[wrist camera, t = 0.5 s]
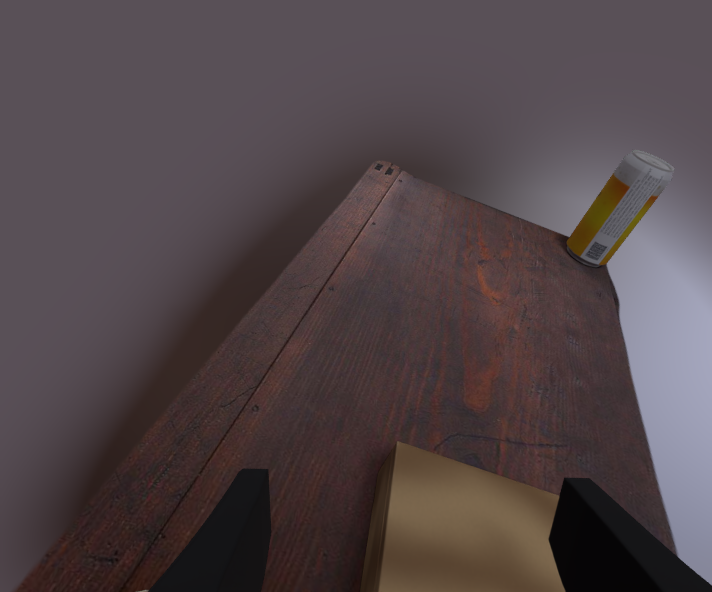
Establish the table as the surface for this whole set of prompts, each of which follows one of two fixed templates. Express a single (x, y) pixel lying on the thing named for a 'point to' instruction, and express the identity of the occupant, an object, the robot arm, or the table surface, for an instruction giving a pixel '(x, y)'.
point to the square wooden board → (456, 529)
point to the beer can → (619, 207)
